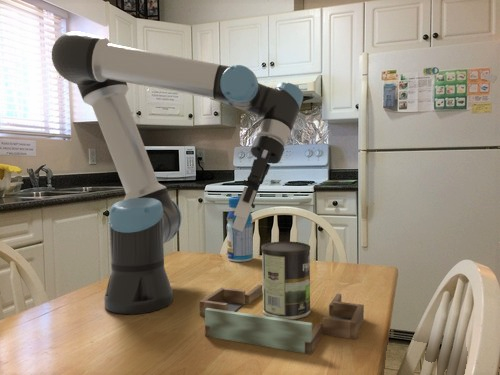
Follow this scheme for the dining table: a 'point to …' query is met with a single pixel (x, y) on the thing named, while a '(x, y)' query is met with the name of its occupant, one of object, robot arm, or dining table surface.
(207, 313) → the wooden tray
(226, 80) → the robot arm
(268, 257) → the coffee can
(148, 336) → the dining table surface
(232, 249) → the beverage bottle
